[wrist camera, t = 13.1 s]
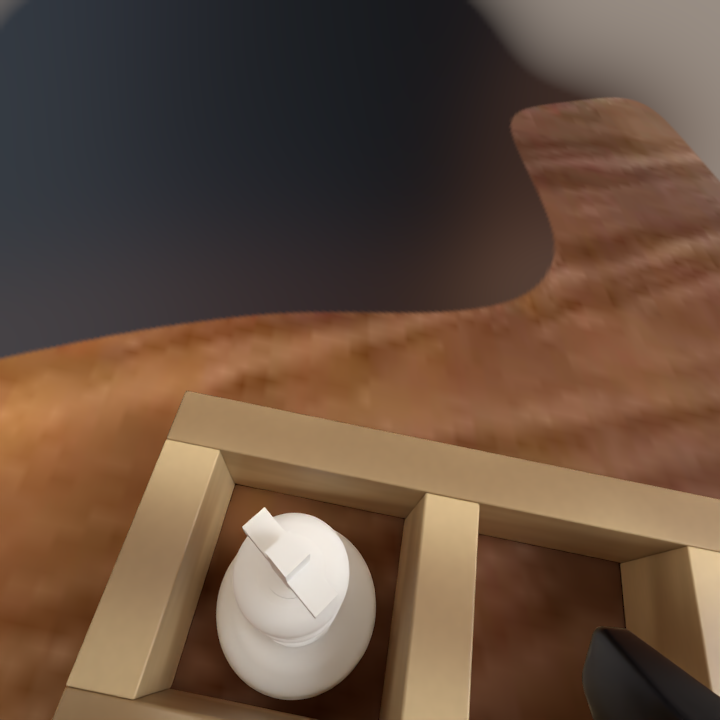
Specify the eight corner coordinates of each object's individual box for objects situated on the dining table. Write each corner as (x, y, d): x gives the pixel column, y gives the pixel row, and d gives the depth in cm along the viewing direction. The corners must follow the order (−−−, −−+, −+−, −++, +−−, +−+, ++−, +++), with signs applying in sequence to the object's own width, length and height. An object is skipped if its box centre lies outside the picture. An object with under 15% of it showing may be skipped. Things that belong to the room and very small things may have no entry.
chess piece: (305, 493, 17) (306, 339, 8) (407, 607, 16) (533, 561, 7) (184, 601, 15) (21, 544, 6) (287, 744, 14) (255, 920, 5)
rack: (706, 875, 13) (826, 944, 10) (90, 746, 13) (27, 776, 10) (658, 525, 18) (730, 500, 15) (206, 432, 18) (185, 389, 15)
